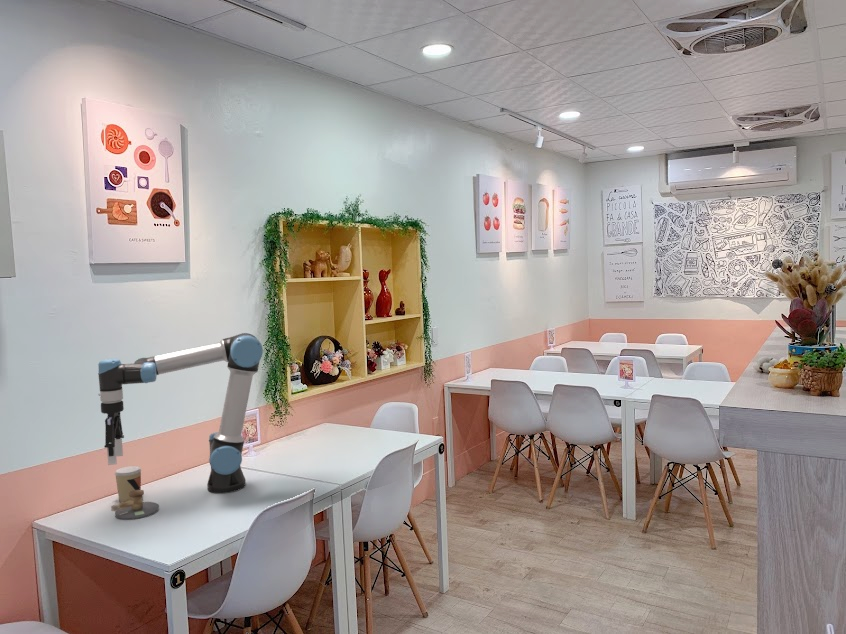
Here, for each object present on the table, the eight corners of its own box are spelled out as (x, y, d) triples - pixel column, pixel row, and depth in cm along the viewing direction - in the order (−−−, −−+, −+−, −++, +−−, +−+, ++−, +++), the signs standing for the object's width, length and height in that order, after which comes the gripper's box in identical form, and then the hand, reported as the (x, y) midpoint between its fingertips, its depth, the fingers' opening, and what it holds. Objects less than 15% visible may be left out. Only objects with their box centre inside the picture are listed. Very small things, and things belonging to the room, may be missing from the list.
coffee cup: (132, 503, 251) (130, 473, 250) (111, 502, 253) (109, 472, 252) (147, 495, 260) (145, 466, 259) (127, 494, 262) (125, 465, 261)
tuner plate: (166, 504, 249) (165, 501, 249) (147, 519, 234) (146, 516, 234) (128, 504, 250) (128, 501, 250) (106, 520, 235) (106, 516, 235)
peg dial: (139, 504, 245) (138, 488, 245) (147, 507, 242) (146, 491, 242) (109, 515, 236) (108, 498, 235) (117, 517, 233) (116, 501, 232)
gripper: (107, 396, 249) (111, 452, 251) (93, 408, 227) (97, 470, 229) (128, 394, 251) (132, 450, 253) (116, 406, 229) (120, 468, 231)
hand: (115, 460), depth 241 cm, fingers open, 10 cm apart
